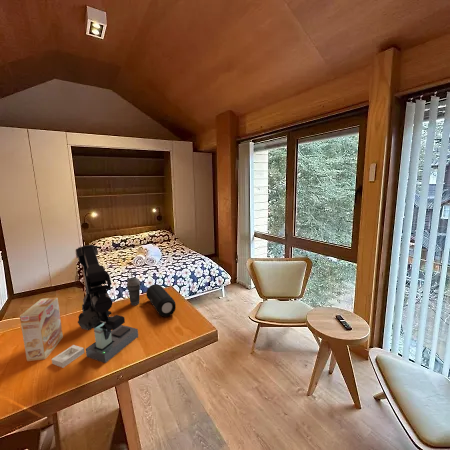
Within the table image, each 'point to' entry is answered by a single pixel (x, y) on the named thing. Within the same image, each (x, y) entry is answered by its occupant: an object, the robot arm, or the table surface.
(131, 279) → the beverage cup
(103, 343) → the plug
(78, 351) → the light grey tray
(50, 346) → the coffeecake box
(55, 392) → the table surface
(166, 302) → the portable speaker
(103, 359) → the panel
